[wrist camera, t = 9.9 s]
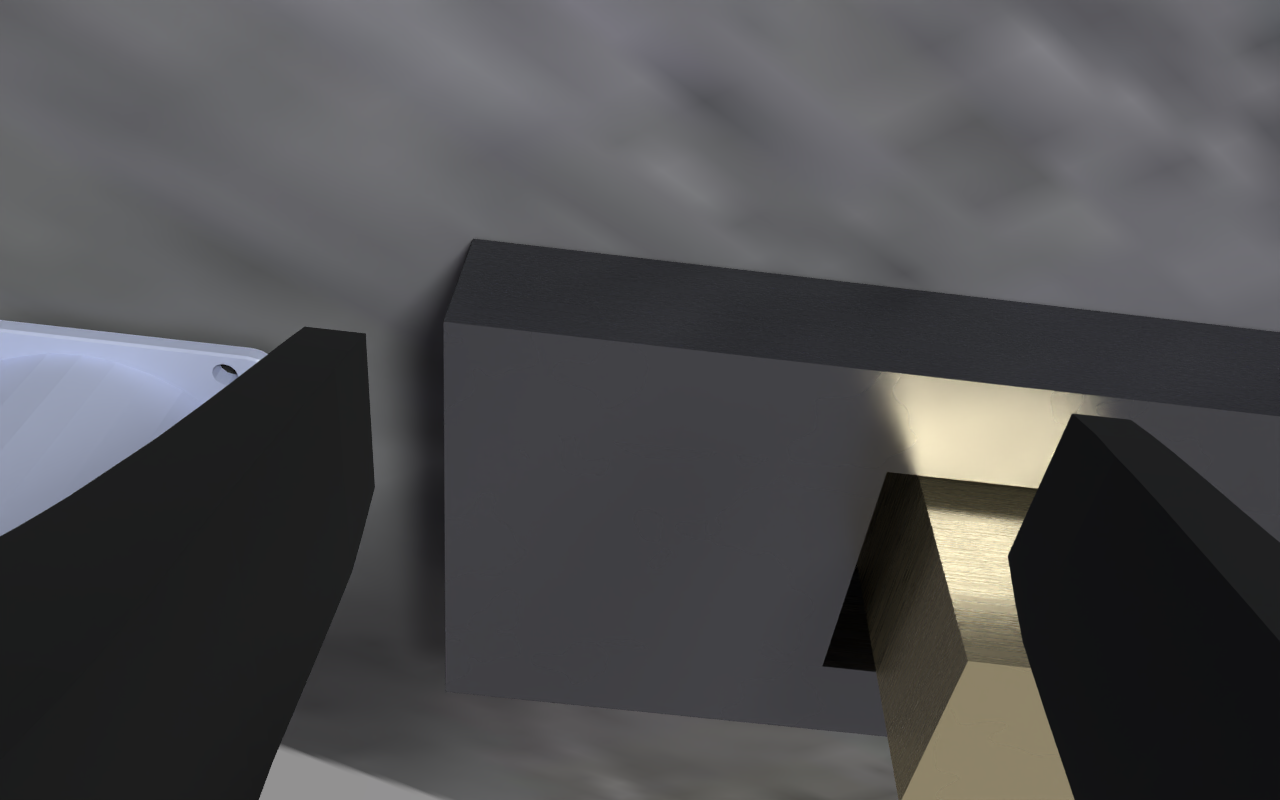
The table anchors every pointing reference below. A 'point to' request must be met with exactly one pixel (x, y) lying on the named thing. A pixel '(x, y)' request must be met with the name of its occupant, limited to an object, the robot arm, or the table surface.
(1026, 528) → the robot arm
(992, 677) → the brass peg
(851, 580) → the dark grey slotted block
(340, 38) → the table surface
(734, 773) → the table surface
